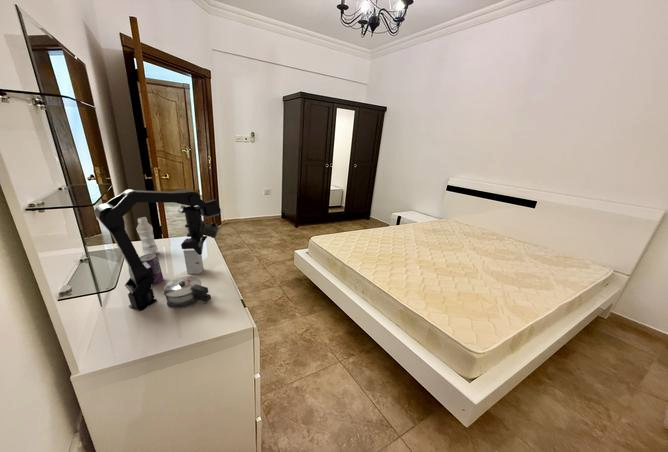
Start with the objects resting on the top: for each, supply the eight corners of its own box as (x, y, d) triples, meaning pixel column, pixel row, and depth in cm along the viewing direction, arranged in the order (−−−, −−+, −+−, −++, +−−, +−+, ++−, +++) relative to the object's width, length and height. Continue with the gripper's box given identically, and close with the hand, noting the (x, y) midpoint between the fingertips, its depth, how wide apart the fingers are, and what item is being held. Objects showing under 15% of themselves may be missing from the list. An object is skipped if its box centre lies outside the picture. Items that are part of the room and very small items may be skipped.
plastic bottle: (153, 257, 128) (144, 220, 121) (140, 257, 128) (130, 220, 121) (162, 251, 134) (153, 216, 127) (149, 251, 134) (140, 215, 127)
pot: (197, 316, 91) (194, 305, 89) (159, 304, 96) (156, 293, 94) (221, 296, 102) (220, 285, 100) (186, 286, 107) (184, 276, 105)
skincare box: (187, 274, 116) (182, 250, 111) (190, 269, 120) (186, 246, 115) (201, 273, 116) (196, 250, 112) (204, 268, 121) (200, 245, 116)
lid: (192, 304, 89) (191, 299, 88) (155, 292, 94) (154, 287, 93) (218, 285, 100) (218, 280, 99) (184, 275, 105) (183, 270, 104)
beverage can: (161, 275, 114) (155, 251, 110) (165, 282, 110) (159, 257, 105) (142, 281, 110) (135, 256, 105) (145, 288, 105) (138, 263, 100)
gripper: (209, 228, 96) (214, 264, 102) (220, 212, 113) (224, 244, 119) (177, 229, 94) (184, 266, 100) (193, 213, 111) (199, 245, 117)
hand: (200, 254), depth 109 cm, fingers closed
